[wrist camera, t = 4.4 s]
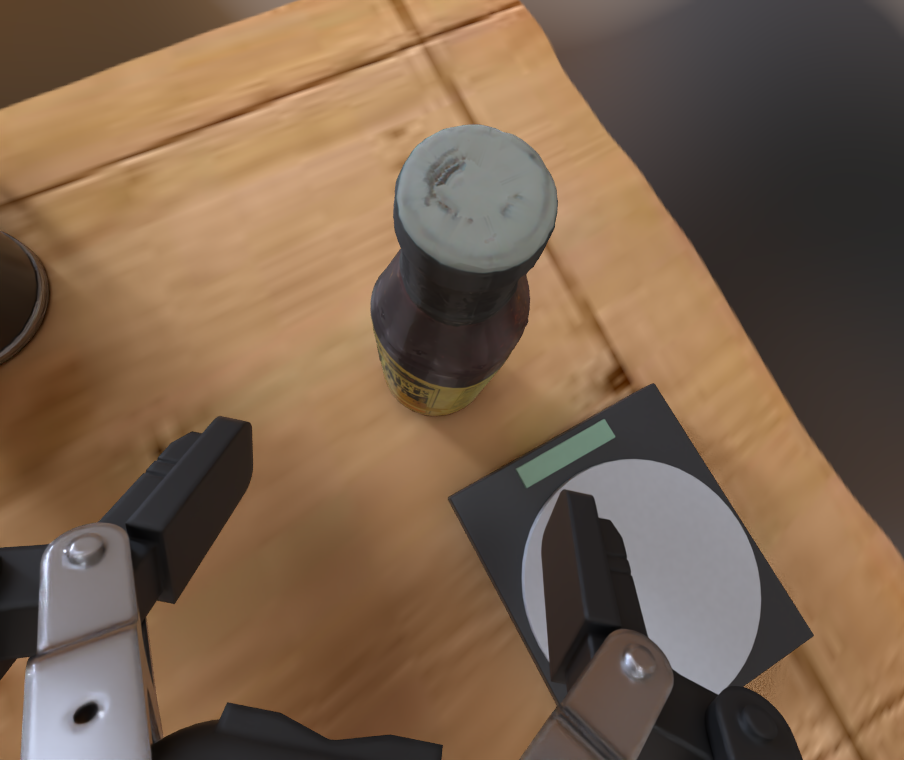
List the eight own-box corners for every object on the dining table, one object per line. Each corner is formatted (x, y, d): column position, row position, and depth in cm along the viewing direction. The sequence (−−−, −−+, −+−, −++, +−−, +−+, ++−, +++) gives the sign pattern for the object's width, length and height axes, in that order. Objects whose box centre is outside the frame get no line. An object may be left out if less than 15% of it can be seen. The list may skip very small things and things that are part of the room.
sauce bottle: (370, 342, 31) (299, 97, 12) (462, 311, 32) (532, 37, 13) (406, 440, 30) (389, 341, 11) (501, 404, 31) (640, 255, 12)
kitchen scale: (446, 497, 30) (450, 498, 27) (638, 389, 32) (659, 380, 29) (588, 765, 27) (607, 795, 24) (786, 626, 29) (824, 639, 27)
